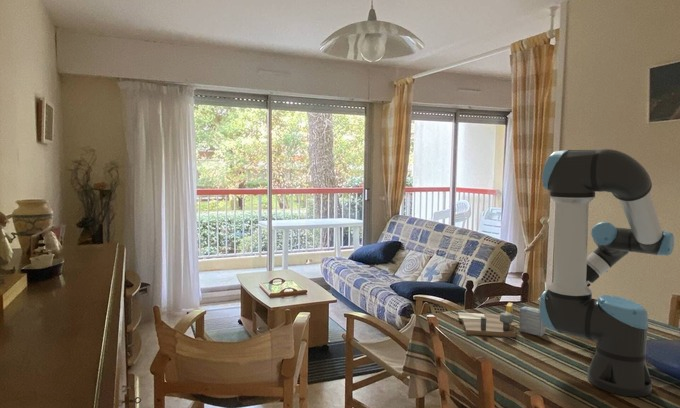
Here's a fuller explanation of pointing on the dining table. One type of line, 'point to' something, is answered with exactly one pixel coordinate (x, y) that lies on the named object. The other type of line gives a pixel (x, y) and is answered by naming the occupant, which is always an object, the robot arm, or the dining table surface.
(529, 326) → the medicine box
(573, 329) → the robot arm
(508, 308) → the latch arm
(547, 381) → the dining table surface
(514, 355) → the dining table surface
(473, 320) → the lock plate
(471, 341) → the dining table surface
